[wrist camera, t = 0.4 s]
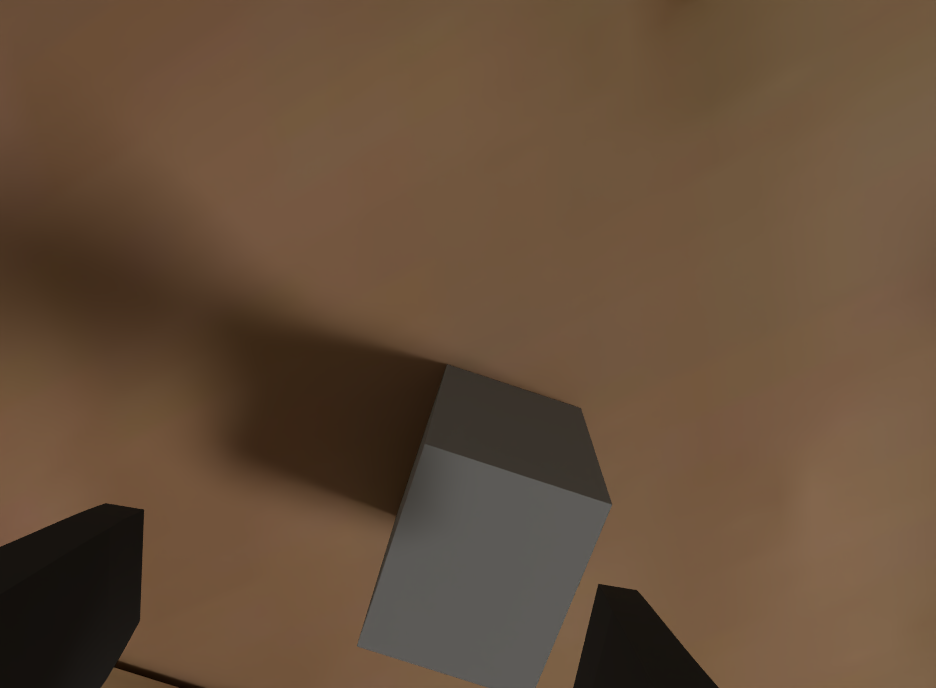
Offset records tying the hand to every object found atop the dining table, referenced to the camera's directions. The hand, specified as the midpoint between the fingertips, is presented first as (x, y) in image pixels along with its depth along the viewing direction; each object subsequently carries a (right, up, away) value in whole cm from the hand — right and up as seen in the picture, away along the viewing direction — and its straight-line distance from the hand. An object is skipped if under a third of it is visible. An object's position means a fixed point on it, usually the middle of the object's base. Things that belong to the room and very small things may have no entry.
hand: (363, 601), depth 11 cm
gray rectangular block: (+2, +1, +10) cm, 10 cm away
